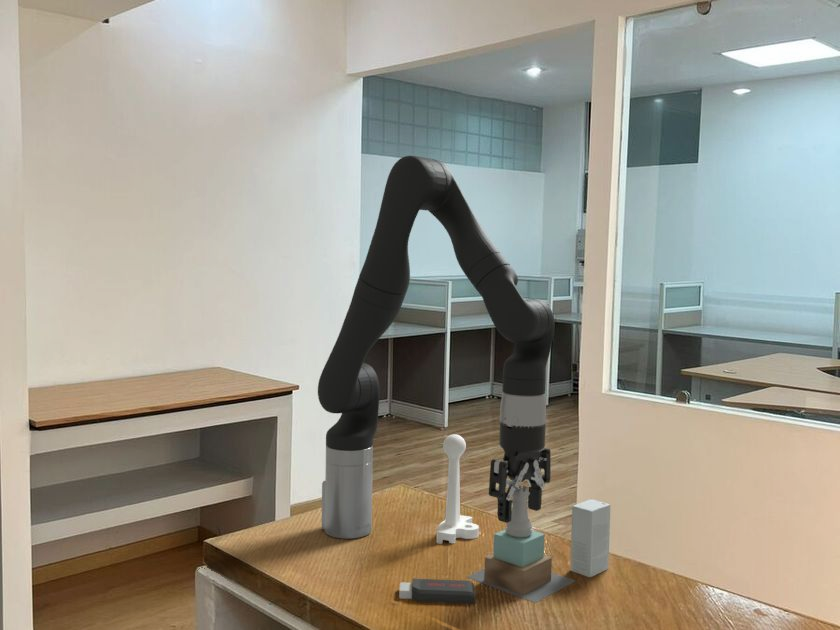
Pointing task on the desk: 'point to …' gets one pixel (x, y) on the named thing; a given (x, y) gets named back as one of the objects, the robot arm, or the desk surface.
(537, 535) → the teal block
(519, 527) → the rook chess piece
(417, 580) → the usb drive
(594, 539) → the skincare box
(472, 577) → the mat
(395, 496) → the desk surface
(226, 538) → the desk surface
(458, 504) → the white ball-topped post
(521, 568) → the walnut block
